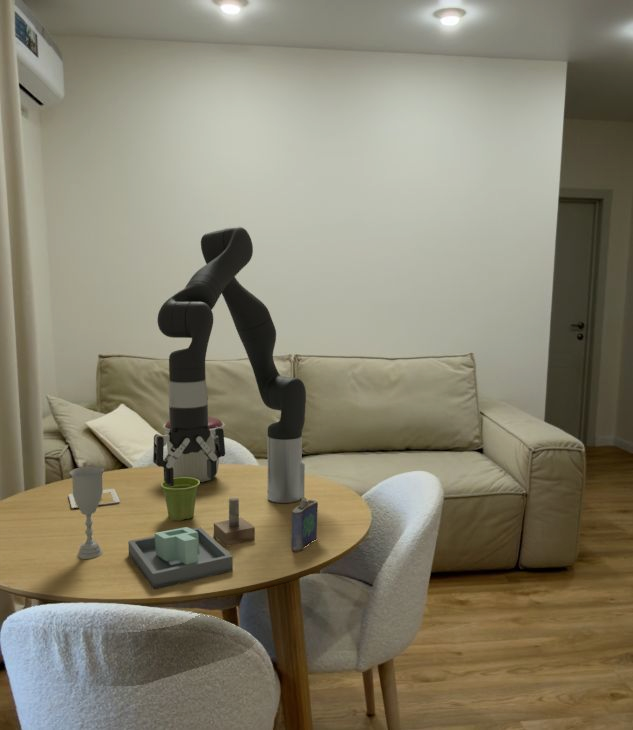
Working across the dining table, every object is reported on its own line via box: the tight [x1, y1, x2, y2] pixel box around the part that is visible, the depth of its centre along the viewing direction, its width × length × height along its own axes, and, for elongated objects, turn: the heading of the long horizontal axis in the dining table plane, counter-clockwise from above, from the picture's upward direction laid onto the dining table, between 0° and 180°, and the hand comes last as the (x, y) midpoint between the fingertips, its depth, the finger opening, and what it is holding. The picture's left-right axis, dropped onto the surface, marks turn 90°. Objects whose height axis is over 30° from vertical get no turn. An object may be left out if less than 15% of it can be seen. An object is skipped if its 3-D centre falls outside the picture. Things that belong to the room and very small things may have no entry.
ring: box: [154, 526, 200, 564], centre depth 127 cm, size 7×12×4 cm, turn 31°
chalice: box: [69, 465, 105, 560], centre depth 131 cm, size 7×7×18 cm
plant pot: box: [160, 477, 201, 522], centre depth 154 cm, size 9×9×9 cm
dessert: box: [67, 488, 121, 509], centre depth 166 cm, size 12×12×5 cm
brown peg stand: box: [213, 497, 256, 547], centre depth 141 cm, size 7×7×9 cm
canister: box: [162, 416, 226, 483], centre depth 185 cm, size 18×18×21 cm
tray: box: [127, 526, 234, 590], centre depth 128 cm, size 16×18×3 cm
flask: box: [290, 496, 319, 552], centre depth 138 cm, size 9×3×11 cm, turn 151°
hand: (190, 481), depth 126 cm, fingers open, 8 cm apart
